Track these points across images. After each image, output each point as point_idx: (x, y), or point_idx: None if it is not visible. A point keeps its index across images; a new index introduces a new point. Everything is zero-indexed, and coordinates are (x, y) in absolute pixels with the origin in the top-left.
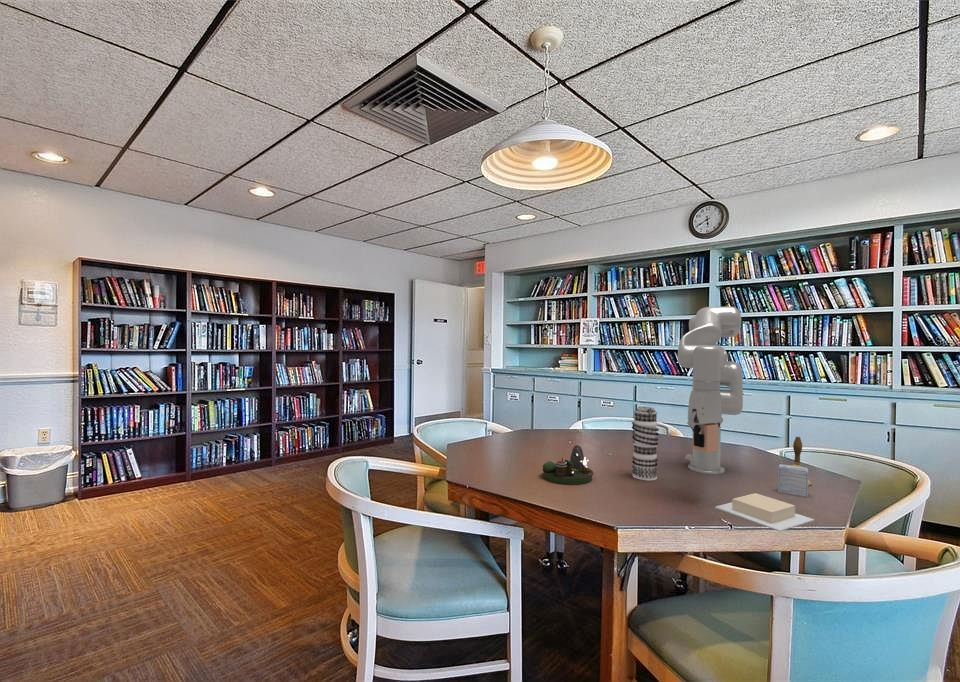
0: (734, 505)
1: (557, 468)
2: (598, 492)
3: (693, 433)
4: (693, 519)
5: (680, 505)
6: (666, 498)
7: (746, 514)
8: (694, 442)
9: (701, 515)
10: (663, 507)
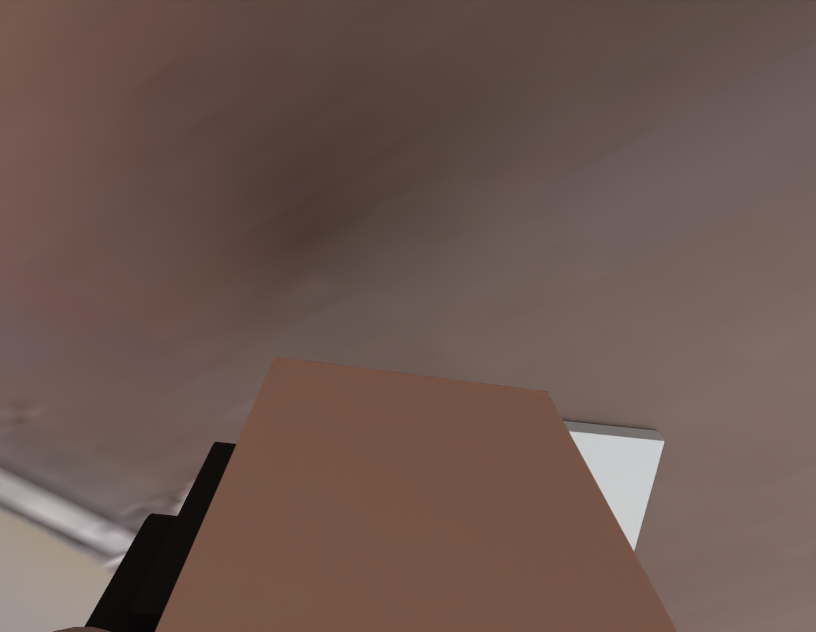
0: None
1: None
2: None
3: (199, 542)
4: (33, 402)
5: (167, 222)
6: (197, 71)
7: None
8: (203, 478)
9: (139, 394)
10: (13, 176)
